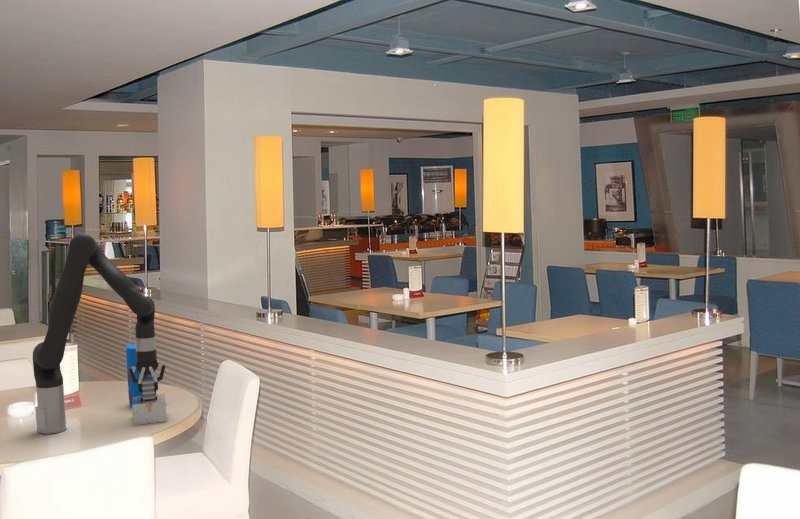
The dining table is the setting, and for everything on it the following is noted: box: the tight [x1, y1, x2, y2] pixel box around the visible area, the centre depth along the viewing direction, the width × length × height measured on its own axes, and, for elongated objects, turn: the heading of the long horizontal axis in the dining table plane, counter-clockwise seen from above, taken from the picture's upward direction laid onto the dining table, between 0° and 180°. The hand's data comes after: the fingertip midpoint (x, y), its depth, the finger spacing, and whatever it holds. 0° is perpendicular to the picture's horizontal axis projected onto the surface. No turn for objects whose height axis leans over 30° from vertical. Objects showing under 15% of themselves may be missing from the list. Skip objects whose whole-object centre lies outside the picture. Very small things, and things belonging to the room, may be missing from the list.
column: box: [142, 377, 155, 402], centre depth 304 cm, size 4×4×16 cm
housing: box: [131, 393, 167, 426], centre depth 304 cm, size 13×12×8 cm
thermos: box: [125, 343, 157, 410], centre depth 323 cm, size 11×11×25 cm
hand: (148, 391), depth 304 cm, fingers closed on column, 4 cm apart
